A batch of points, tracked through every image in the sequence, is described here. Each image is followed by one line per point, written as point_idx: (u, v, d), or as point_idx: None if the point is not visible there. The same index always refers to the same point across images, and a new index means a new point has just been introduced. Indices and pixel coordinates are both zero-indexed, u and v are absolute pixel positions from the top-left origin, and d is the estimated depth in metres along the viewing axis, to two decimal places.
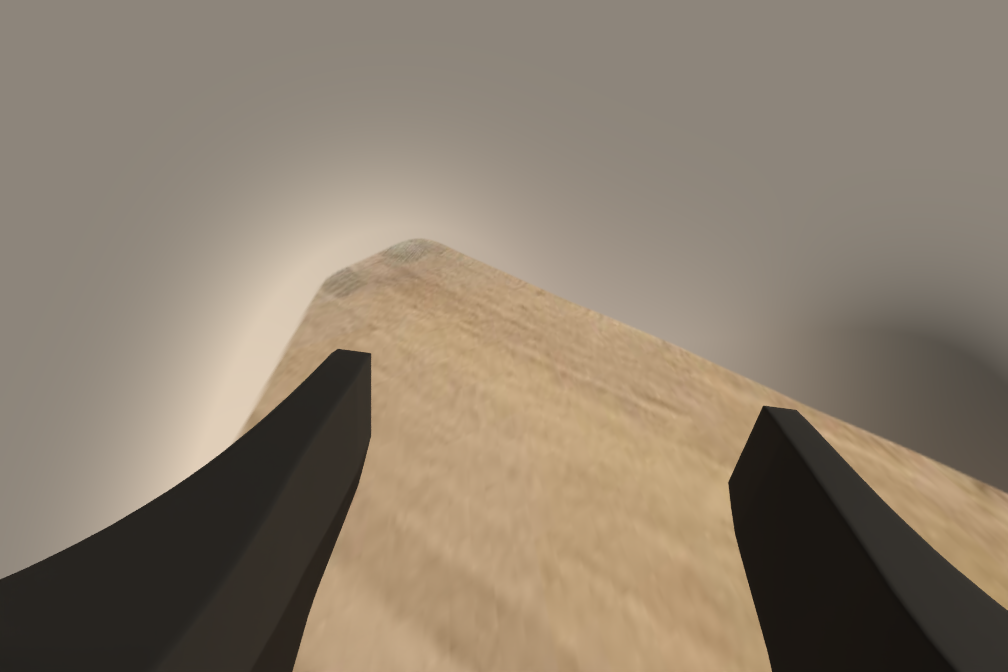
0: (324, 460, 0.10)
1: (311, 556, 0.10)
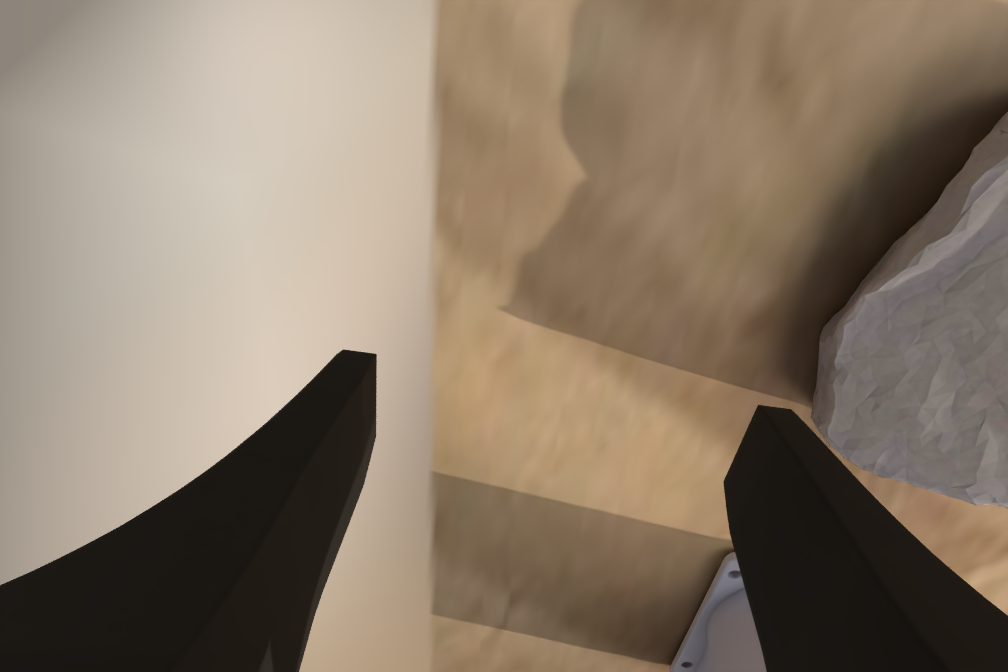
0: (331, 461, 0.10)
1: (317, 557, 0.10)
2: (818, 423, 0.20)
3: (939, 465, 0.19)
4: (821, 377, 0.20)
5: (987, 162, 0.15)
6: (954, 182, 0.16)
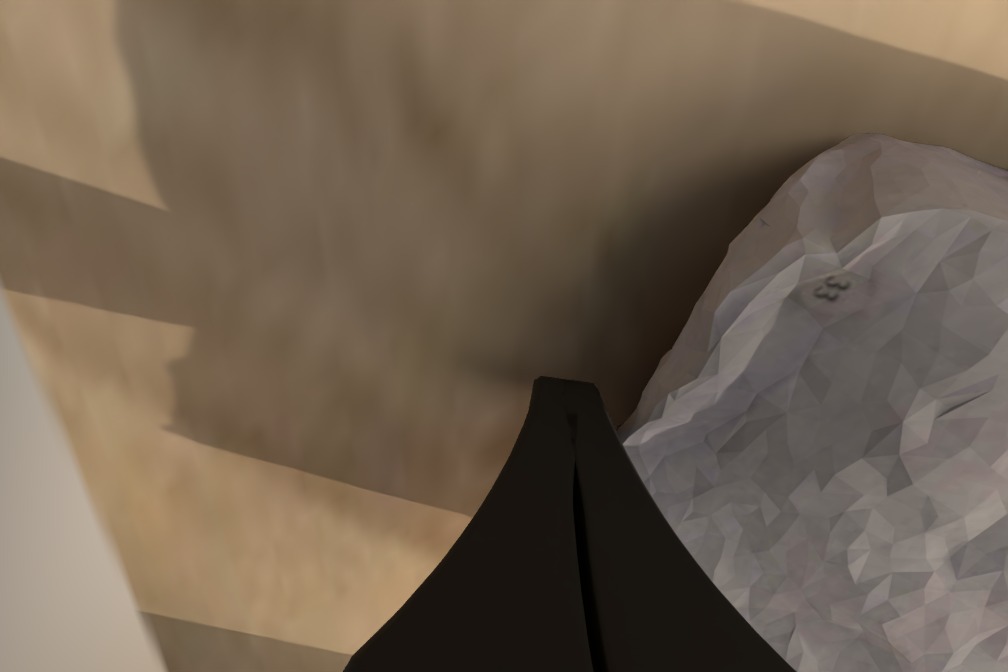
0: None
1: None
2: None
3: None
4: None
5: (735, 274, 0.09)
6: (702, 297, 0.10)
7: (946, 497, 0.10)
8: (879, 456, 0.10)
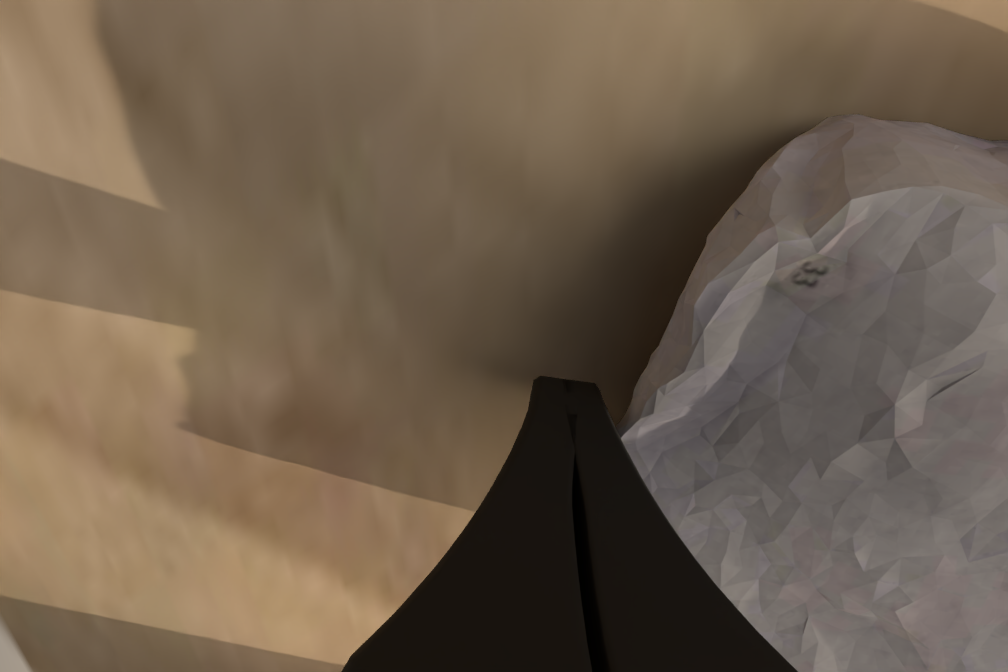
0: None
1: None
2: None
3: None
4: None
5: (710, 265, 0.09)
6: (684, 291, 0.10)
7: (949, 479, 0.10)
8: (875, 439, 0.10)
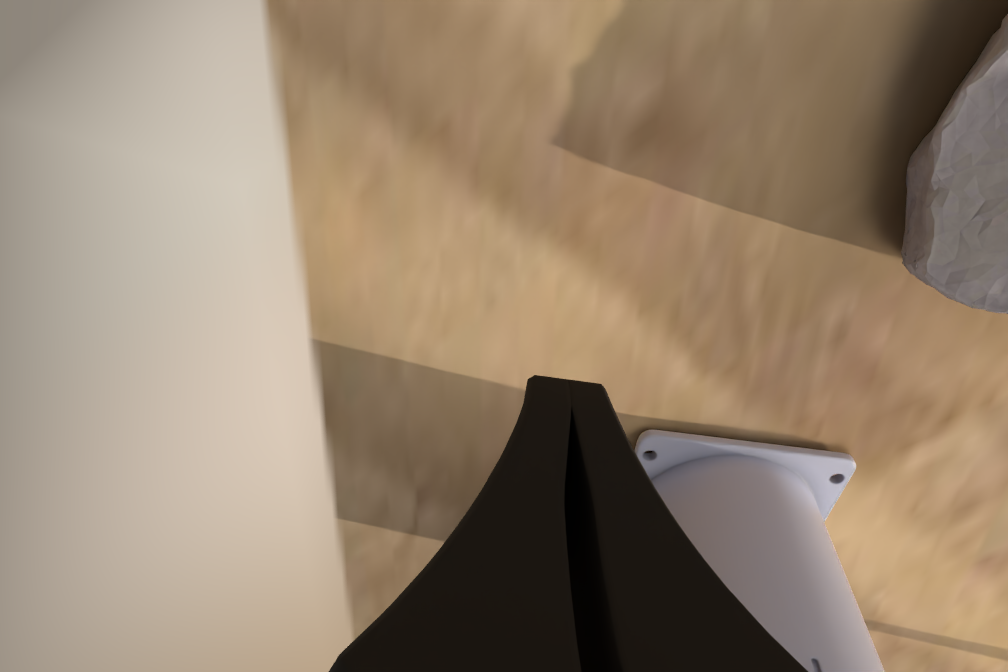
0: None
1: None
2: (913, 263, 0.18)
3: None
4: (913, 211, 0.18)
5: None
6: None
7: None
8: None
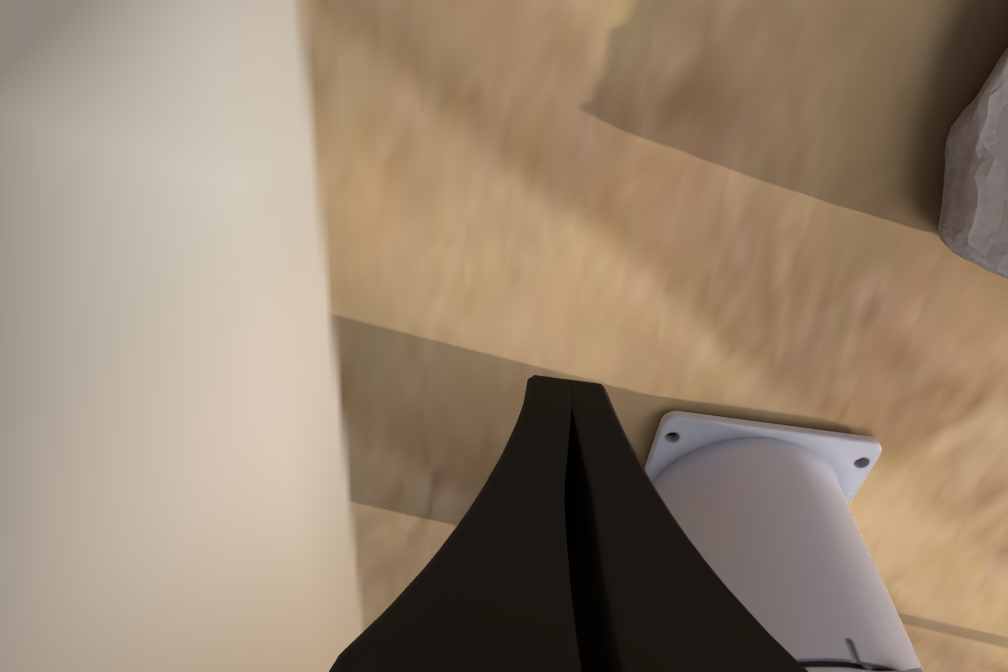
0: None
1: None
2: (953, 235, 0.17)
3: None
4: (953, 182, 0.18)
5: None
6: None
7: None
8: None
